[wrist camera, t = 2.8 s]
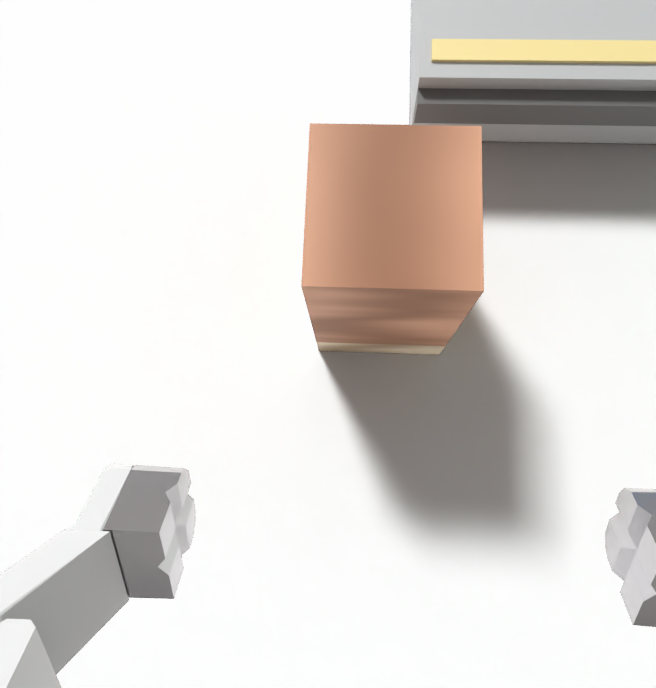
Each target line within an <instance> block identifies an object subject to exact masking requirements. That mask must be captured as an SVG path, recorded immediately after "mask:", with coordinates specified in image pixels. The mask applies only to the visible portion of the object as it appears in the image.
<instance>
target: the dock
mask: <svg viewBox="0 0 656 688" xmlns="http://www.w3.org/2000/svg"><path fill="white" fill-rule="evenodd" d="M409 125H445V126H482V141H497V142H562V143H628V144H656V0H411V49H410V116H409Z"/></svg>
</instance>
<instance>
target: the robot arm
mask: <svg viewBox="0 0 656 688" xmlns="http://www.w3.org/2000/svg"><path fill="white" fill-rule="evenodd" d="M190 485H191V480H190V475H189V470H187V469H184V468H170V467H156V466H142V465H135V466H134V465H120V464H110V465H108V466H107V467H106V468H105V469H104V470H103V472H102V474H101V476H100V478H99V480H98V482H97V484H96V485H95V487H94V489H93V491H92V493H91V495H90V497H89V499H88V501H87V503H86V505H85V506H84V508H83V510H82V512H81V514H80V516H79V518H78V520H77V522H76V524H75V526H74V528H73V529H64V530H63V531H61V532H60V533H59V534H57V535H56V536H54V537H53V538H51V539H50V540H49V541H47V542H46V543H44V544H43V545H41V546H40V547H39V548H37V549H36V550H34V551H33V552H31V553H30V554H29V555H27V556H26V557H24V558H23V559H21V560H20V561H19V562H17V563H16V564H14V565H13V566H11V567H10V568H9V569H7V570H6V571H4V572H3V573H1V574H0V688H61V685H60V683H59V681H58V678H57V676H56V674H57V673H58V672H59V671H60V670H61V669H62V668H63V667H64V666H65V665H66V664H67V663H68V662H69V661H70V660H71V659H72V658H73V657H74V656H75V655H76V654H77V653H78V652H79V651H80V650H81V649H82V648H83V647H84V645H85V644H86V643H87V642H88V641H89V640H90V639H91V638H92V637H93V636H94V635H95V634H96V633H97V632H98V631H99V630H100V629H101V628H102V627H103V626H104V625H105V624H106V623H107V622H108V621H109V620H110V619H111V618H112V617H113V616H114V615H115V614H116V613H117V612H118V611H119V610H120V609H121V608H122V607H123V606H124V605H125V604H126V603H127V602H128V601H129V598H128V597H133V598H168V599H174V597H175V593H176V590H177V587H178V584H179V581H180V578H181V574H182V571H183V563H182V557H181V555H182V554H183V553H185V552H186V551H187V550H188V549H189V548H190V545H191V542H192V538H193V534H194V527H195V504H194V499H193V498H192V497H191V496H190V495H189V494H188V491H189V488H190ZM616 505H617V507H618V510H619V513H618V514H617V515H615V516H614V517H612V518H611V519H609V523H608V526H607V529H606V538H605V547H606V553H607V558H608V561H609V563H610V566H611V569H612V571H613V572H614V573H616V574H617V575H618V576H619V577H620V578H621V579H622V580H624V583H623V586H622V588H621V591H620V593H621V595H622V598H623V600H624V603H625V606H626V608H627V611H628V613H629V616H630V618H631V621H632V624H633V625H640V626H652V627H656V489H634V488H624V489H623V490H622V491H621V492H620V493H619V495H618V497H617V500H616Z"/></svg>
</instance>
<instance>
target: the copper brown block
mask: <svg viewBox="0 0 656 688" xmlns="http://www.w3.org/2000/svg"><path fill="white" fill-rule="evenodd" d="M302 290H303V293H304V297H305V301H306V304H307V308H308V312H309V315H310V319H311V323H312V326H313V330H314V334H315V338H316V341H317V345H318V349H319V351H342V352H373V353H405V354H436V355H440V353H441V352H442V350H443V349H444V348H445V346H446V345H447V343H448V342H449V340H450V339H451V337H452V336H453V335H454V333H455V332H456V330H457V329H458V327H459V326H460V324H461V323H462V322H463V320H464V319H465V317H466V316H467V314H468V313H469V311H470V310H471V309H472V307H473V306H474V304H475V303H476V301H477V300H478V298H479V297H480V296H481V294H482V293H483V291H484V276H483V197H482V126H445V125H374V124H310V133H309V152H308V172H307V191H306V210H305V229H304V248H303V267H302Z"/></svg>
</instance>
